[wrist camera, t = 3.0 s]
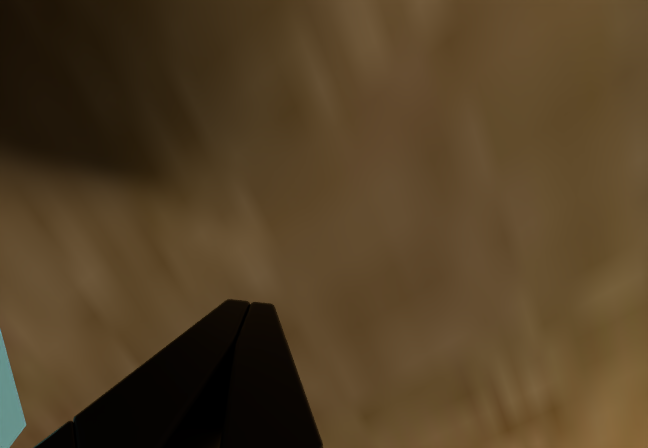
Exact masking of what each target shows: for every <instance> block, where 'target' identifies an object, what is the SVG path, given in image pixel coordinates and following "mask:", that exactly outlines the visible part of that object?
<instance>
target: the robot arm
mask: <svg viewBox="0 0 648 448" xmlns="http://www.w3.org/2000/svg"><path fill="white" fill-rule="evenodd" d="M73 422H74V423H73ZM34 448H323V443H322V440H321V437H320V435H319V432H318V429H317V426H316V423H315V420H314V417H313V415H312V412H311V409H310V406H309V403H308V400H307V397H306V395H305V392H304V389H303V386H302V383H301V380H300V378H299V375H298V372H297V369H296V366H295V363H294V360H293V358H292V355H291V352H290V349H289V346H288V343H287V340H286V338H285V335H284V332H283V329H282V326H281V323H280V321H279V318H278V315H277V312H276V309H275V307H274V305H273V304H269V303H260V302H253V303H251V304H250V303H249V302H248V301H242V300H234V299H228V300H226V301H224V302H223V303H222V304H221V305H219V306H218V307H217V308H215V309H214V310H213V311H211V312H210V313H209V314H208V315H206V316H205V317H204V318H202V319H201V320H200V321H198V322H197V323H196V324H195V325H193V326H192V327H191V328H189V329H188V330H187V331H185V332H184V333H183V334H182V335H180V336H179V337H178V338H176V339H175V340H174V341H172V342H171V343H170V344H168V345H167V346H166V347H165V348H163V349H162V350H161V351H159V352H158V353H157V354H155V355H154V356H153V357H152V358H150V359H149V360H148V361H146V362H145V363H144V364H142V365H141V366H140V367H139V368H137V369H136V370H135V371H133V372H132V373H131V374H129V375H128V376H127V377H126V378H124V379H123V380H122V381H120V382H119V383H118V384H116V385H115V386H114V387H112V388H111V389H110V390H109V391H107V392H106V393H105V394H103V395H102V396H101V397H99V398H98V399H97V400H96V401H94V402H93V403H92V404H90V405H89V406H88V407H86V408H85V409H84V410H83V411H81V412H80V413H79V414H77V415H76V416H75V417H74V419H73V421H68V422H67V423H65V424H64V425H63V426H61V427H60V428H59V429H57V430H56V431H55V432H54V433H52V434H51V435H50V436H48V437H47V438H46V439H44V440H43V441H42V442H40V443H39V444H38V445H36V446H35V447H34Z"/></svg>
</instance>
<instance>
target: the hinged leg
mask: <svg viewBox="0 0 648 448" xmlns="http://www.w3.org/2000/svg"><path fill="white" fill-rule="evenodd" d="M25 426H26V423H25V419H24V415H23V411H22V408H21V404H20V400H19V397H18V393H17V389H16V386H15V382H14V378H13V374H12V371H11V367H10V363H9V360H8V356H7V352H6V349H5V345H4V341H3V337H2V334H1V330H0V448H9V447H10V446H11V445H12V443H13V442H14V441H15V439H16V438H17V437H18V435H19V434H20V433H21V431H22V430H23V429H24V427H25Z"/></svg>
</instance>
